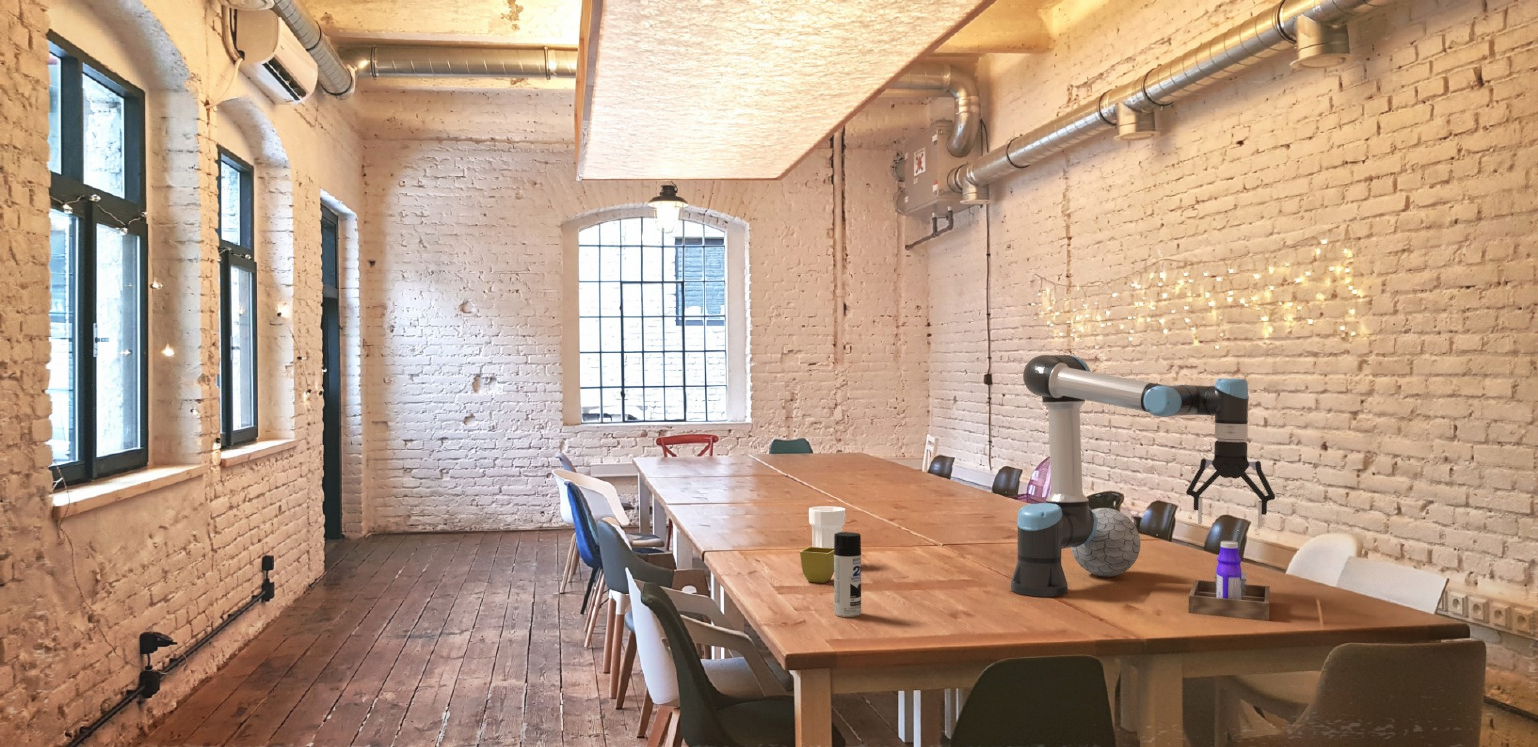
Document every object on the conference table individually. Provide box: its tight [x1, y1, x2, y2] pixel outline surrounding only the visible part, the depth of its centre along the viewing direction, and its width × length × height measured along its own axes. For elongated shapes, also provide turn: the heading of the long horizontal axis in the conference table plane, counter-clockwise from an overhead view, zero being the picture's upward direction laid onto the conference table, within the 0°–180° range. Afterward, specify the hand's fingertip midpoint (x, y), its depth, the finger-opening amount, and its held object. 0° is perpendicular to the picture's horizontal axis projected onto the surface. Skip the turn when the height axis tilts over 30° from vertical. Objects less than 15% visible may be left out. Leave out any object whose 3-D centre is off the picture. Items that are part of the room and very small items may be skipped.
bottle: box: [1215, 540, 1243, 600], centre depth 265 cm, size 7×6×17 cm
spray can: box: [833, 531, 862, 618], centre depth 263 cm, size 7×7×20 cm
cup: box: [808, 505, 847, 548], centre depth 327 cm, size 11×11×17 cm
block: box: [1214, 571, 1248, 596], centre depth 275 cm, size 7×8×7 cm
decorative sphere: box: [1070, 507, 1141, 578], centre depth 313 cm, size 20×20×20 cm
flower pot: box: [799, 546, 834, 584], centre depth 303 cm, size 9×9×9 cm
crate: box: [1188, 579, 1271, 622], centre depth 270 cm, size 18×22×5 cm
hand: (1229, 525), depth 265 cm, fingers open, 13 cm apart
